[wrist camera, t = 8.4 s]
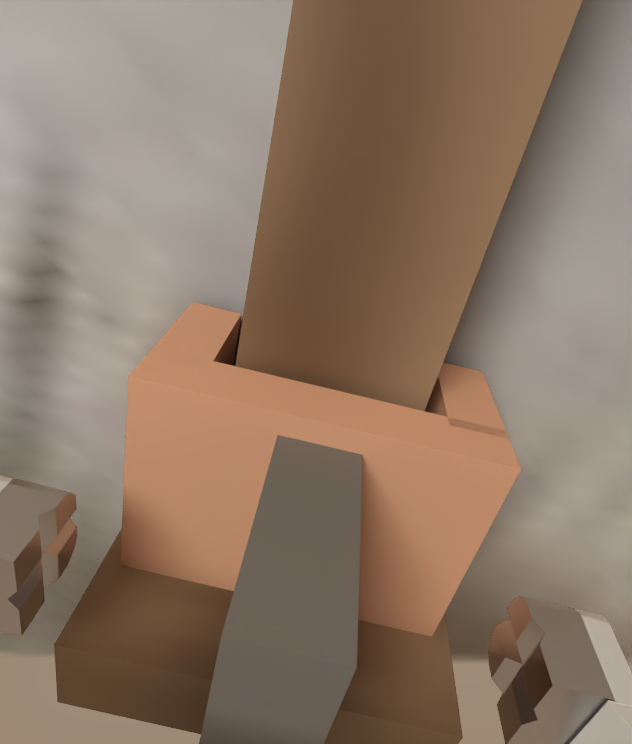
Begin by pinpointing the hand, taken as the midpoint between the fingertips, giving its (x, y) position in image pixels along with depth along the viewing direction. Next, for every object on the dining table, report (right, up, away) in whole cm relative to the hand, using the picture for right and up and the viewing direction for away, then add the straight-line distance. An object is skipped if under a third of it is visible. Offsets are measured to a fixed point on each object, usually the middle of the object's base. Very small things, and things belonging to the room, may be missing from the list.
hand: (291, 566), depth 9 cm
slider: (+1, +2, +5) cm, 5 cm away
